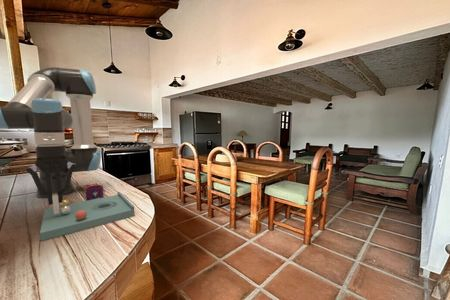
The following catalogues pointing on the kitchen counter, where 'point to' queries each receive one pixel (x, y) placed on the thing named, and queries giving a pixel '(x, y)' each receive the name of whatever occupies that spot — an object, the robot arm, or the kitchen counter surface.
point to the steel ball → (65, 210)
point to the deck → (96, 215)
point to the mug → (94, 192)
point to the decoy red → (81, 214)
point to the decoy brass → (64, 203)
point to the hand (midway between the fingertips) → (56, 212)
